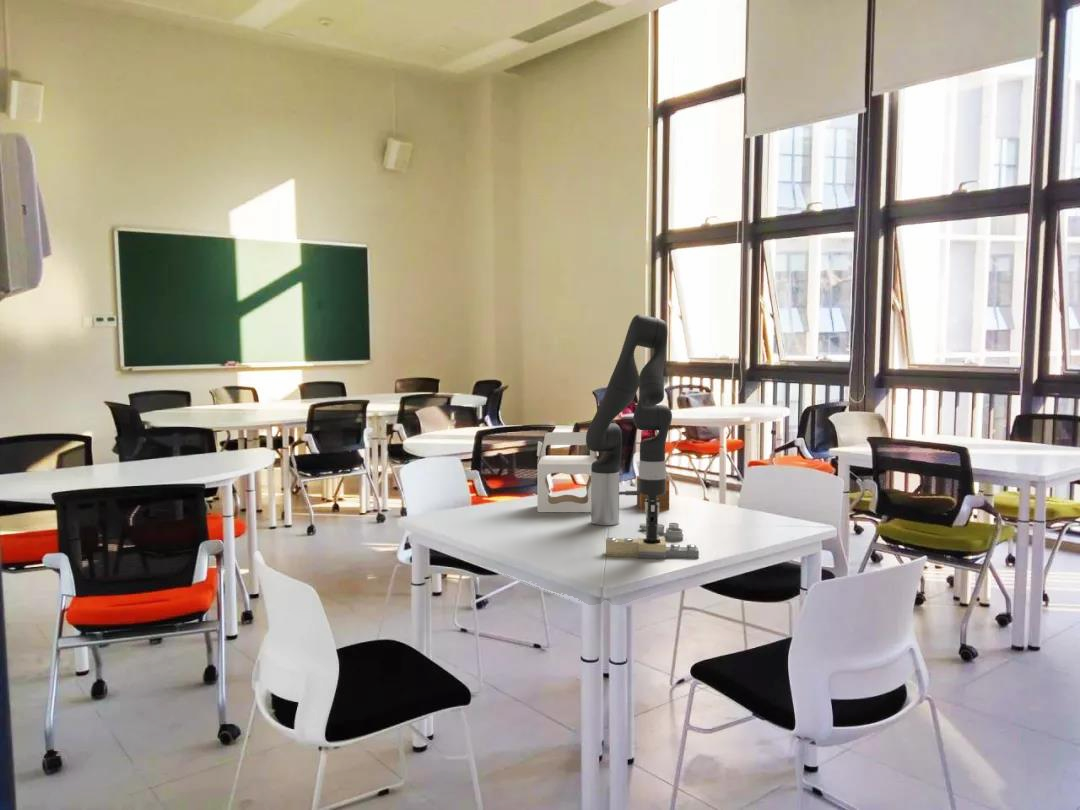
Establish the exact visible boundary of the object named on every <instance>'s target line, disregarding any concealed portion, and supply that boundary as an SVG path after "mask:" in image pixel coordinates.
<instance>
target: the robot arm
mask: <svg viewBox="0 0 1080 810" xmlns="http://www.w3.org/2000/svg"><path fill="white" fill-rule="evenodd" d="M668 333H669V332H668V324H667V322H666V321H665V320H663V319H661V318H658V317H657V318H656V317H653V316H648V315H643V314H635V315H634V317H632V319H631V321H630V323H629V326H628V329H627V333H626V335H625V339H624V342H623V345H622V348H621V352H620V355H619V357H618V360H617V362H616V364H615V366H614V369H613V372H612V374H611V376H610V378H609V382H608V384H607V387H606V389H605V392H604V395H603V397H602V400H601V402H600V405H599V407H598V409H597V411H596V413H595V414H594V416H593V418H592V420H591V422H590V424H589V426H588V428H587V431H586V432H587V434H586V444H587V445H586V447H587V449H589V451H590V450H591V451H595V452H598V453H599V452H603V455H601V457H600V458H597V459H598V460H597V461H595V462H593V463H592V465H591V513H590V515H591V521H590V522H591V524H594V525H597V526H614V525H618V524H620V495H619V492H620V466H621V462H622V449H623V434H622V429H621V427H620V425H618V424H617V423H615V422H613V421H614V419H616V417H618V416H619V415H620V414H621V413H622V412H624V411H625V410H626V409H627V408H628V406H630V405H631V404H632V402H633V401H634V399H635V397H636V395H637V392H638V393H639V394H638V400H637V404H636V407H635V410H634V412H633V419H632V421H633V424H634V427H636V429H637V430H639V431H658V433H657V434H656V435H655V436H653V437H650V438H649V437H648V438H644V439H642V440H640V442H639V463H638V465H639V466H638V476H639V493H641V494H644V495H648V496H647V499H645V507H646V514H645V518H646V517H647V518H648V523H647V524H648V538H649V539H656V526H657V524H659V521H658V522H657V517H658V518H659V514H660V510H659V499H657V495H662V494H665V492H666V478H667V469H666V443H667V437H668V433H669V430H670V427H671V424H672V420H673V413H672V409H670V407H669V406H667V405H664V404H660V403H662V402H663V401H664V399H665V387H664V386H665V385H664V369H665V368H664V367H665V362H666V360H665V359H666V353H667V343H668ZM638 346H639V347H643V348H646V349H647V348H648V349H650V350H651V349H652V350H653V354H652V356H651V358H650V359H649V360H648V361H647V363H645V365H644V366H643V367H642V369H641V371H640V373H639V370H638V367H637V364H636V361H635V359H636V358H635V350H636V348H637V347H638ZM650 517H654V518H655V520H650Z"/></svg>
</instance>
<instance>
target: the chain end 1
mask: <svg viewBox="0 0 1080 810" xmlns="http://www.w3.org/2000/svg"><path fill="white" fill-rule="evenodd" d="M666 547H667V541H665V537H664V538H663V537H659V538H658V543H646V537H637V538H631V537H627V538H616V537H608V538H605V557H631V558H632V557H637V558H638V551H650V552H666Z"/></svg>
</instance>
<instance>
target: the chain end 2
mask: <svg viewBox="0 0 1080 810" xmlns="http://www.w3.org/2000/svg"><path fill="white" fill-rule="evenodd" d="M699 554H700V551H699V548H698V546H697V545H696V544H692V543H691V544H686V546H681V545H680V544H678V543H673V544H670V546H666V552H650V551H638V557H637V558H638V559H648V560H649V559H650V560H651V559H652V560H654V559H655V560H666V559H667V558H675V559H676V558H678V559H679V558H682V559H685V558H684V557H688V558H687V559H690V558H689V557H694V558H693V559H699Z"/></svg>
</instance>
